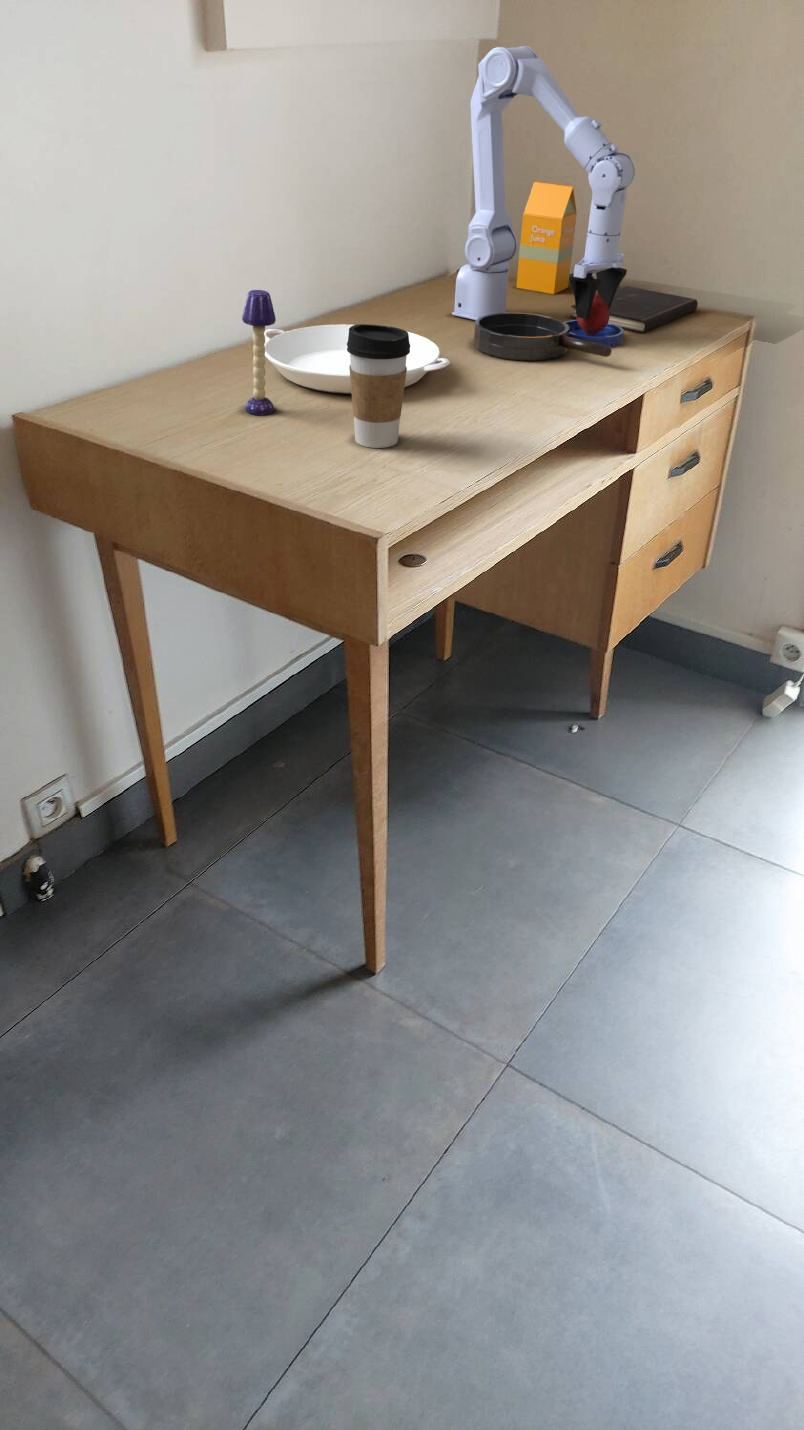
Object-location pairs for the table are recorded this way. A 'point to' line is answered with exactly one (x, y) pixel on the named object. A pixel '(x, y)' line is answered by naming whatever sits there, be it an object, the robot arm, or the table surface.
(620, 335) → the saucer
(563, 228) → the orange juice
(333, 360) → the pan
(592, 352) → the pan handle
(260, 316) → the toy lamp
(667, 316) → the hardcover book
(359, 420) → the coffee cup
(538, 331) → the frying pan
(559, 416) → the table surface
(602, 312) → the onion
